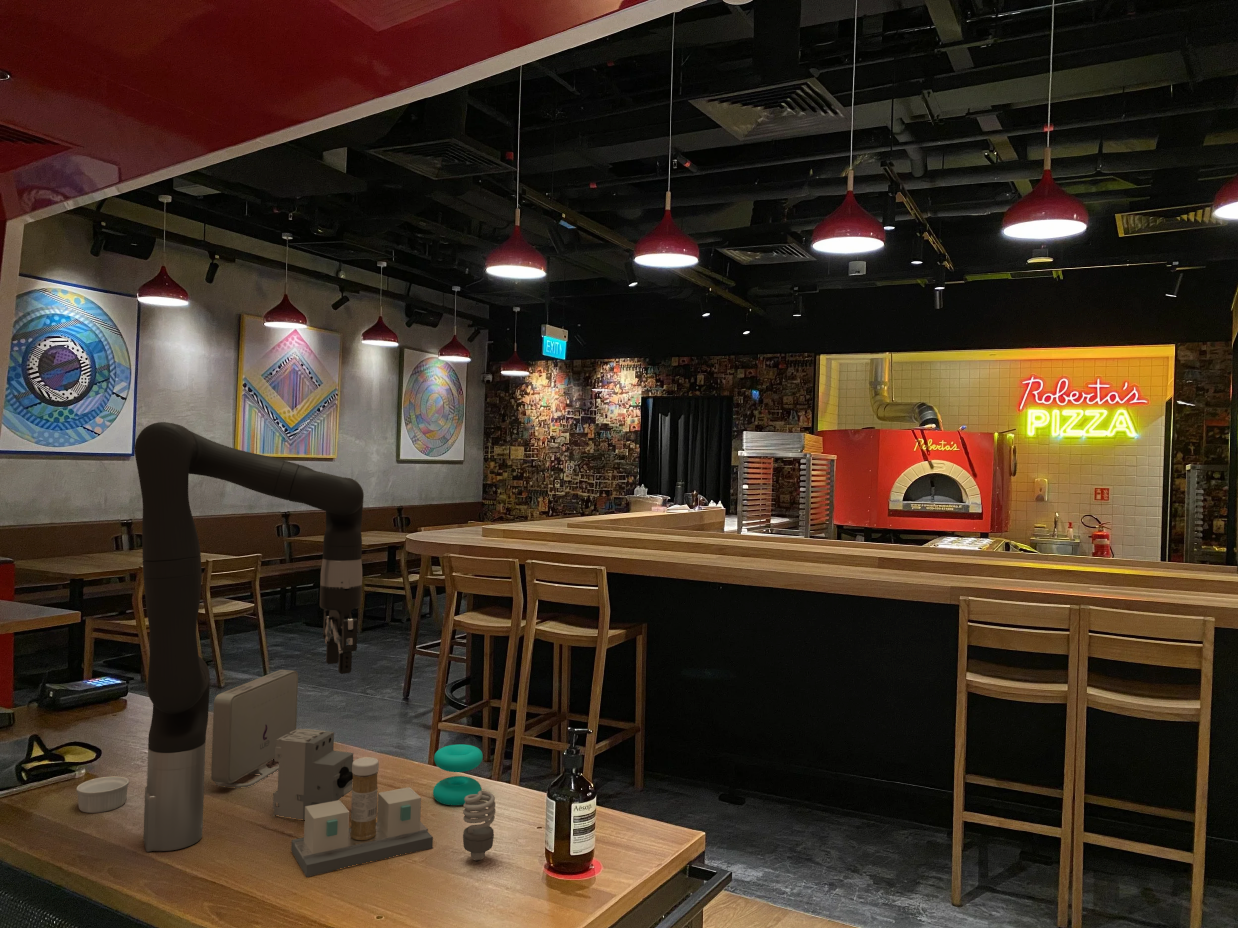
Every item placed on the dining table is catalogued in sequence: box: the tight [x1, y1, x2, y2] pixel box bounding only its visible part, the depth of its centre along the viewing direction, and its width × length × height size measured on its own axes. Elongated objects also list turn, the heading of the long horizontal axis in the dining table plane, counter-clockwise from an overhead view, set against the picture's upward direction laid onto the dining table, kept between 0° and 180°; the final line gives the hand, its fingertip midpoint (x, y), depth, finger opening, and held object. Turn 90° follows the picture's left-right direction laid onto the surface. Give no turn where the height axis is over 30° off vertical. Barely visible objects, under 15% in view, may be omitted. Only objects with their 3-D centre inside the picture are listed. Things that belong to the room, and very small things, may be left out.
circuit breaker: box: [272, 727, 354, 820], centre depth 167 cm, size 8×14×15 cm, turn 78°
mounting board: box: [290, 821, 434, 878], centre depth 152 cm, size 22×11×2 cm, turn 124°
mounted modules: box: [303, 786, 422, 854], centre depth 152 cm, size 19×7×6 cm, turn 124°
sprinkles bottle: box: [350, 756, 380, 840], centre depth 152 cm, size 5×5×13 cm
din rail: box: [295, 821, 429, 859], centre depth 152 cm, size 22×6×1 cm, turn 124°
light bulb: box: [462, 790, 496, 862], centre depth 149 cm, size 6×6×12 cm
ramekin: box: [76, 775, 130, 814], centre depth 167 cm, size 9×9×4 cm
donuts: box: [432, 743, 484, 806], centre depth 177 cm, size 10×10×10 cm
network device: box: [210, 669, 299, 789], centre depth 188 cm, size 26×9×20 cm, turn 170°
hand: (338, 668), depth 161 cm, fingers open, 8 cm apart
